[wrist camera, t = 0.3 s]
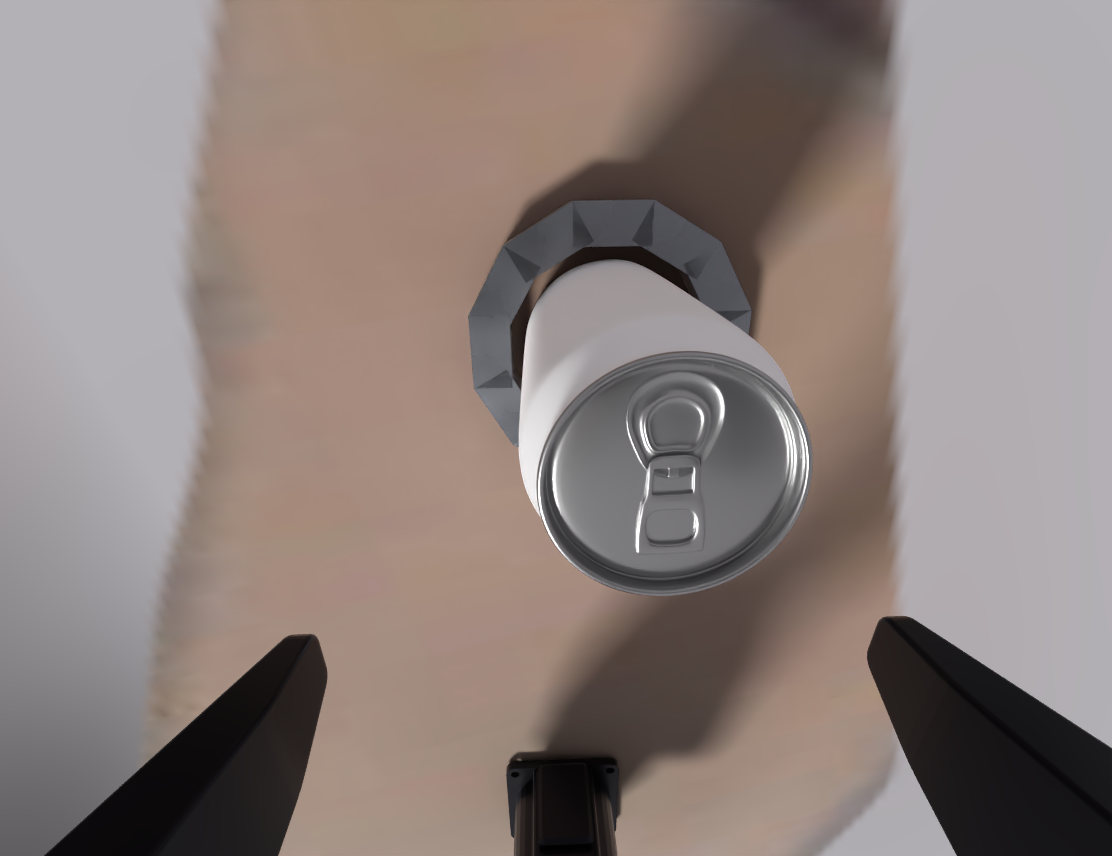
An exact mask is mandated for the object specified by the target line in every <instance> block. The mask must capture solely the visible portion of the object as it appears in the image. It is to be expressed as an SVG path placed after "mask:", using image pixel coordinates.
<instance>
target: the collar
mask: <svg viewBox="0 0 1112 856" xmlns="http://www.w3.org/2000/svg"><path fill="white" fill-rule="evenodd" d="M613 246H641V247H642V248H644V249H645V250H647V251H649V252H650V253H652V254H654V255H655V256H657V257H659V258H660V259H662V260H664V261H665V262H667V263H669V264H670V265H672V266H673V267H675V268H677V269H678V271H679V273H680V275H681V277H682V279H683V281H684V283H685V285H686V287H687V289H688V291H689V293H690V295H691V296H692V297H694V298H695V299H697V300H698V301H700V302H701V303H703V304H704V305H706V306H707V307H709V308H710V309H712V310H713V311H715V312H716V313H718V314H719V315H721V316H722V317H724V318H725V319H727V320H728V321H730V322H731V323H733V324H734V325H735V326H737V327H738V328H740V329H741V330H742V331H744V332H745V333H746V334H748V335H749V327H750V320H751V312H752V310H751V307H750V305H749V303H748V301H747V298H746V296H745V294H744V292H743V290H742V287H741V285H740V283H739V281H738V278H737V276H736V274H735V272H734V269H733V267H732V265H731V263H730V260H729V258H728V256H727V254H726V251H725V249H724V247H723V245H722V243H721V241H719V240H718V239H716V238H714V237H713V236H711V235H710V234H708V233H707V232H705V231H703V230H702V229H700V228H699V227H697V226H696V225H694V224H692V223H691V222H689V221H688V220H686V219H685V218H683V217H681V216H680V215H678V214H677V213H675V212H674V211H672V210H670V209H669V208H667V207H666V206H664V205H662V204H661V203H659V202H658V201H656V200H651V199H634V200H572V201H569V202H567V203H566V204H564V205H562V206H561V207H559V208H558V209H556V210H555V211H553V212H552V213H550V214H548V215H547V216H545V217H544V218H542V219H541V220H539V221H538V222H536V223H534V224H533V225H531V226H530V227H528V228H527V229H525V230H524V231H522V232H521V233H519V234H517V235H516V236H514V237H513V238H511V239H510V240H508V241H507V242H505V244H504V245H503V247H502V249H501V251H500V253H499V255H498V257H497V259H496V261H495V263H494V265H493V267H492V269H491V271H490V273H489V275H488V277H487V279H486V281H485V284H484V286H483V288H482V290H481V292H480V294H479V296H478V298H477V300H476V302H475V304H474V306H473V308H472V310H471V312H470V314H469V316H468V319H469V331H470V344H471V357H472V370H473V382H474V390H475V391H476V392H477V394H478V395H479V397H480V398H481V400H482V401H483V402H484V404H485V405H486V407H487V408H488V410H489V411H490V412H491V414H492V415H493V417H494V418H495V420H496V421H497V422H498V424H499V425H500V427H501V428H502V429H503V431H504V432H505V434H506V435H507V437H508V438H509V439H510V441H511V442H512V444H513V445H515V446H517V447H519V420H520V404H521V389H522V378H521V377H520V375H519V374H518V372H517V371H516V369H515V368H514V361H513V340H512V321H513V319H514V317H515V315H516V313H517V312H518V310H519V308H520V306H521V304H522V302H523V300H524V298H525V296H526V295H527V293H528V291H529V289H530V287H531V285H532V283H533V281H534V279H535V277H537V276H539V275H540V274H542V273H543V272H545V271H547V270H548V269H550V268H551V267H553V266H555V265H556V264H558V263H559V262H561V261H563V260H564V259H566V258H567V257H569V256H571V255H572V254H574V253H575V252H577V251H579V250H580V249H582V248H583V247H613Z"/></svg>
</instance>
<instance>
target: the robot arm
mask: <svg viewBox="0 0 1112 856" xmlns="http://www.w3.org/2000/svg"><path fill="white" fill-rule="evenodd" d="M867 661H868V665H869V668H870V671H871V673H872V676H873V678H874V681H875V683H876V685H877V688H878V690H879V693H880V695H881V698H882V700H883V702H884V705H885V707H886V710H887V712H888V715H889V717H890V719H891V722H892V724H893V727H894V729H895V732H896V734H897V736H898V739H899V741H900V744H901V746H902V749H903V751H904V753H905V755H906V758H907V760H908V762H909V764H910V766H911V768H912V770H913V772H914V774H915V776H916V778H917V780H918V782H919V784H920V786H921V788H922V790H923V792H924V794H925V796H926V798H927V799H928V801H929V803H930V805H931V807H932V809H933V811H934V813H935V815H936V817H937V819H938V820H939V822H940V824H941V826H942V828H943V830H944V832H945V834H946V836H947V838H948V840H949V842H950V843H951V845H952V847H953V849H954V851H955V853H956V855H957V856H1112V748H1111V747H1109V746H1108V745H1106V744H1105V743H1103V742H1101V741H1100V740H1098V739H1097V738H1095V737H1094V736H1092V735H1091V734H1089V733H1088V732H1086V731H1085V730H1083V729H1081V728H1080V727H1079V726H1077V725H1075V724H1074V723H1072V722H1071V721H1069V720H1068V719H1066V718H1065V717H1063V716H1062V715H1060V714H1058V713H1057V712H1056V711H1054V710H1052V709H1051V708H1049V707H1048V706H1046V705H1045V704H1043V703H1042V702H1040V701H1039V700H1037V699H1036V698H1034V697H1033V696H1031V695H1029V694H1028V693H1026V692H1025V691H1023V690H1022V689H1020V688H1019V687H1017V686H1015V685H1014V684H1013V683H1011V682H1009V681H1008V680H1006V679H1005V678H1003V677H1001V676H1000V675H999V674H997V673H996V672H994V671H993V670H991V669H989V668H988V667H986V666H985V665H983V664H982V663H980V662H979V661H977V660H976V659H974V658H972V657H971V656H970V655H968V654H967V653H965V652H963V651H962V650H960V649H959V648H957V647H956V646H954V645H953V644H951V643H950V642H948V641H947V640H945V639H943V638H942V637H940V636H939V635H937V634H936V633H934V632H933V631H931V630H930V629H928V628H927V627H925V626H924V625H922V624H920V623H919V622H917V621H916V620H914V619H912V618H910V617H907V616H890V617H883V618H882V619H880V620H879V622H878V624H877V626H876V629H875V632H874V634H873V637H872V640H871V643H870V645H869V648H868V651H867ZM326 684H327V667H326V664H325V660H324V657H323V654H322V650H321V647H320V643H319V640H318V638H317V637H316V636H315V635H313V634H298V635H289V636H287V637H286V638H284V639H283V640H282V641H281V642H280V643H278V644H277V645H276V646H275V647H274V648H273V649H272V650H271V651H270V652H268V653H267V654H266V655H265V656H264V657H263V658H262V659H261V660H260V661H259V662H257V663H256V664H255V665H254V666H253V667H252V668H251V669H250V670H249V671H247V672H246V673H245V674H244V675H243V676H242V677H241V678H240V679H239V680H237V681H236V682H235V683H234V684H233V685H232V686H231V687H230V688H229V689H228V690H226V691H225V692H224V693H223V694H222V695H221V696H220V697H219V698H218V699H216V700H215V701H214V702H213V703H212V704H211V705H210V706H209V707H208V708H207V709H205V710H204V711H203V712H202V713H201V714H200V715H199V716H198V717H197V718H195V719H194V720H193V721H192V722H191V723H190V724H189V725H188V726H187V727H186V728H184V729H183V730H182V731H181V732H180V733H179V734H178V735H177V736H176V737H174V738H173V739H172V740H171V741H170V742H169V743H168V744H167V745H166V746H164V747H163V748H162V749H161V750H160V751H159V752H158V753H157V754H156V755H155V756H153V757H152V758H151V759H150V760H149V761H148V762H147V763H146V764H145V765H143V766H142V767H141V768H140V769H139V770H138V771H137V772H136V773H135V774H134V775H132V776H131V777H130V778H129V779H128V780H127V781H126V782H125V783H124V784H122V785H121V786H120V787H119V788H118V789H117V790H116V791H115V792H114V793H113V794H111V795H110V796H109V797H108V798H107V799H106V800H105V801H104V802H103V803H101V804H100V805H99V806H98V807H97V808H96V809H95V810H94V811H93V812H92V813H90V814H89V815H88V816H87V817H86V818H85V819H84V820H83V821H82V822H80V823H79V824H78V825H77V826H76V827H75V828H74V829H73V830H72V831H70V833H68V834H67V835H66V836H65V837H64V838H63V839H62V840H61V841H59V842H58V843H57V844H56V845H55V846H54V847H53V848H52V849H51V850H49V851H48V852H47V853H46V854H45V855H44V856H278V855H279V852H280V849H281V846H282V843H283V840H284V837H285V835H286V832H287V829H288V826H289V823H290V820H291V817H292V814H293V812H294V809H295V806H296V803H297V800H298V796H299V793H300V790H301V787H302V783H303V779H304V776H305V772H306V768H307V764H308V759H309V755H310V751H311V747H312V743H313V739H314V735H315V730H316V726H317V722H318V718H319V714H320V710H321V705H322V701H323V697H324V693H325V689H326ZM618 775H619V769H618V763H617V761H616V760H615V759H613V758H601V759H577V760H554V761H530V762H513V763H510V764H509V765H508V766H507V774H506V776H507V789H508V802H509V815H510V828H511V836H512V837H513V838H514V856H617V847H616V839H615V831H616V818H617V796H618Z"/></svg>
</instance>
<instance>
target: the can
mask: <svg viewBox="0 0 1112 856" xmlns="http://www.w3.org/2000/svg"><path fill="white" fill-rule="evenodd" d="M519 460H520V467H521V473H522V477H523V481H524V485H525V488H526V491H527V493H528V496H529V498H530V500H531V502H532V504H533V506H534V508H535V509H536V511H537V513H538V514H539V516H540V517H541V518H542V521H543V524H544V527H545V529H546V531H547V533H548V535H549V537H550V538H551V540H552V542H553V543H554V545H555V546H556V548H557V549H558V550H559V552H560V553H561V554H562V555H563V556H564V557H565V558H566V559H567V560H568V561H569V562H570V563H571V564H572V565H573V566H574V567H575V568H577V569H578V570H579V571H581V572H582V573H583V574H585V575H587V576H588V577H590V578H591V579H593V580H595V581H597V582H599V583H601V584H603V585H606V586H608V587H611V588H614V589H617V590H620V591H624V592H628V593H633V594H639V595H647V596H673V595H682V594H689V593H694V592H698V591H702V590H706V589H709V588H712V587H715V586H717V585H720V584H722V583H725V582H727V581H729V580H731V579H733V578H735V577H737V576H739V575H741V574H742V573H744V572H746V571H747V570H749V569H750V568H752V567H753V566H755V565H756V564H757V563H759V562H760V561H761V560H763V559H764V558H765V557H766V556H767V555H768V554H769V553H771V552H772V551H773V550H774V549H775V548H776V547H777V545H778V544H779V543H780V542H781V541H782V540H783V539H784V537H785V536H786V535H787V534H788V532H789V531H790V529H791V528H792V526H793V525H794V523H795V521H796V520H797V518H798V516H799V514H800V512H801V510H802V508H803V506H804V503H805V501H806V498H807V495H808V491H809V487H810V483H811V477H812V467H813V455H812V446H811V440H810V436H809V432H808V429H807V426H806V423H805V421H804V418H803V416H802V414H801V412H800V411H799V409H798V407H797V406H796V404H795V400H794V396H793V394H792V391H791V388H790V386H789V383H788V381H787V379H786V377H785V376H784V374H783V372H782V371H781V369H780V367H779V366H778V365H777V363H776V362H775V361H774V360H773V358H772V357H771V356H770V355H769V354H768V353H767V352H766V350H765V349H764V348H763V347H762V346H761V345H760V344H759V343H757V342H756V341H755V340H754V339H753V338H751V337H750V336H749V335H748V334H746V333H745V332H744V331H742V330H741V329H740V328H738V327H737V326H735V325H734V324H733V323H731V322H730V321H728V320H727V319H725V318H724V317H722V316H721V315H719V314H718V313H716V312H715V311H713V310H712V309H710V308H709V307H707V306H706V305H704V304H703V303H701V302H700V301H698V300H697V299H695V298H694V297H692V296H691V295H689V294H688V293H686V292H685V291H683V290H682V289H680V288H678V287H677V286H675V285H674V284H672V283H671V282H669V281H668V280H666V279H664V278H663V277H661V276H660V275H658V274H656V273H655V272H653V271H651V270H649V269H647V268H645V267H643V266H641V265H639V264H637V263H634V262H631V261H626V260H618V259H608V260H600V261H594V262H590V263H586V264H583V265H580V266H578V267H575V268H573V269H571V270H569V271H567V272H565V273H564V274H562V275H561V276H560V277H558V278H557V279H556V280H555V281H554V282H552V283H551V284H550V285H549V286H548V288H547V289H546V290H545V291H544V292H543V294H542V295H541V296H540V298H539V300H538V301H537V303H536V305H535V307H534V309H533V311H532V313H531V316H530V319H529V323H528V327H527V332H526V340H525V350H524V362H523V375H522V389H521V404H520V420H519Z"/></svg>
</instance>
